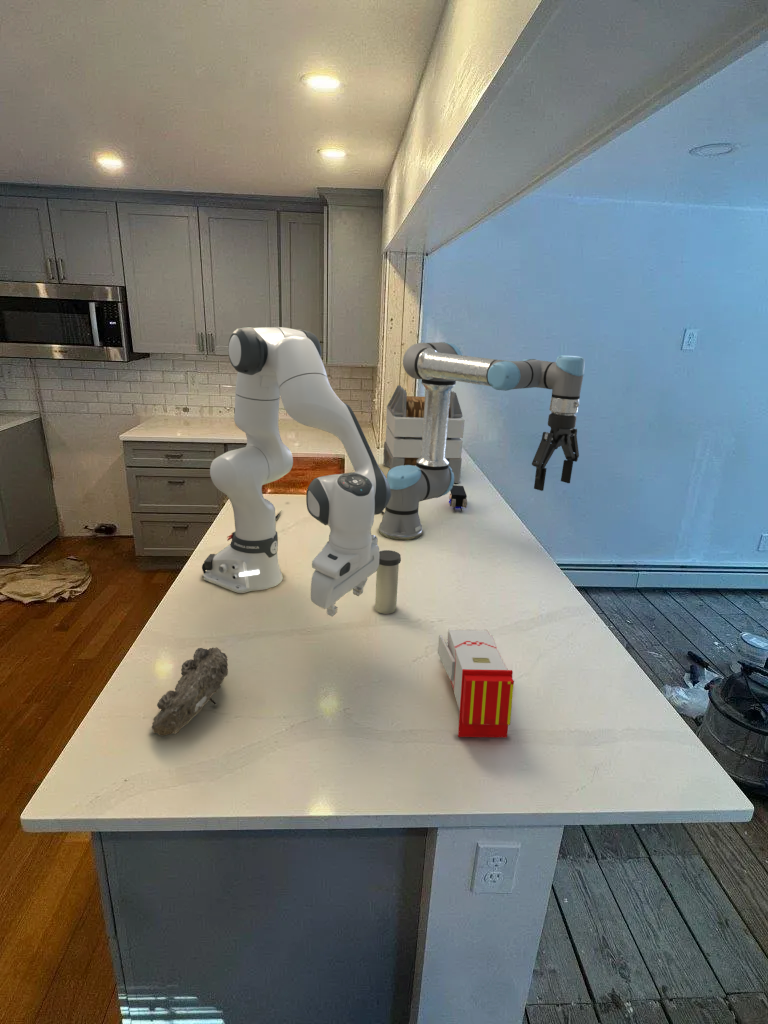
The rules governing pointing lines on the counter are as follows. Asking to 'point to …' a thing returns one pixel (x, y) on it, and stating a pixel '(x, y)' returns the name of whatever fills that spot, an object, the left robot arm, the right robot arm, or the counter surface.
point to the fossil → (191, 690)
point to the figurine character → (458, 497)
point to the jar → (386, 589)
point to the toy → (478, 682)
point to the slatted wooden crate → (419, 431)
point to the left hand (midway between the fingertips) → (345, 603)
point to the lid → (389, 558)
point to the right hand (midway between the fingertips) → (552, 485)
